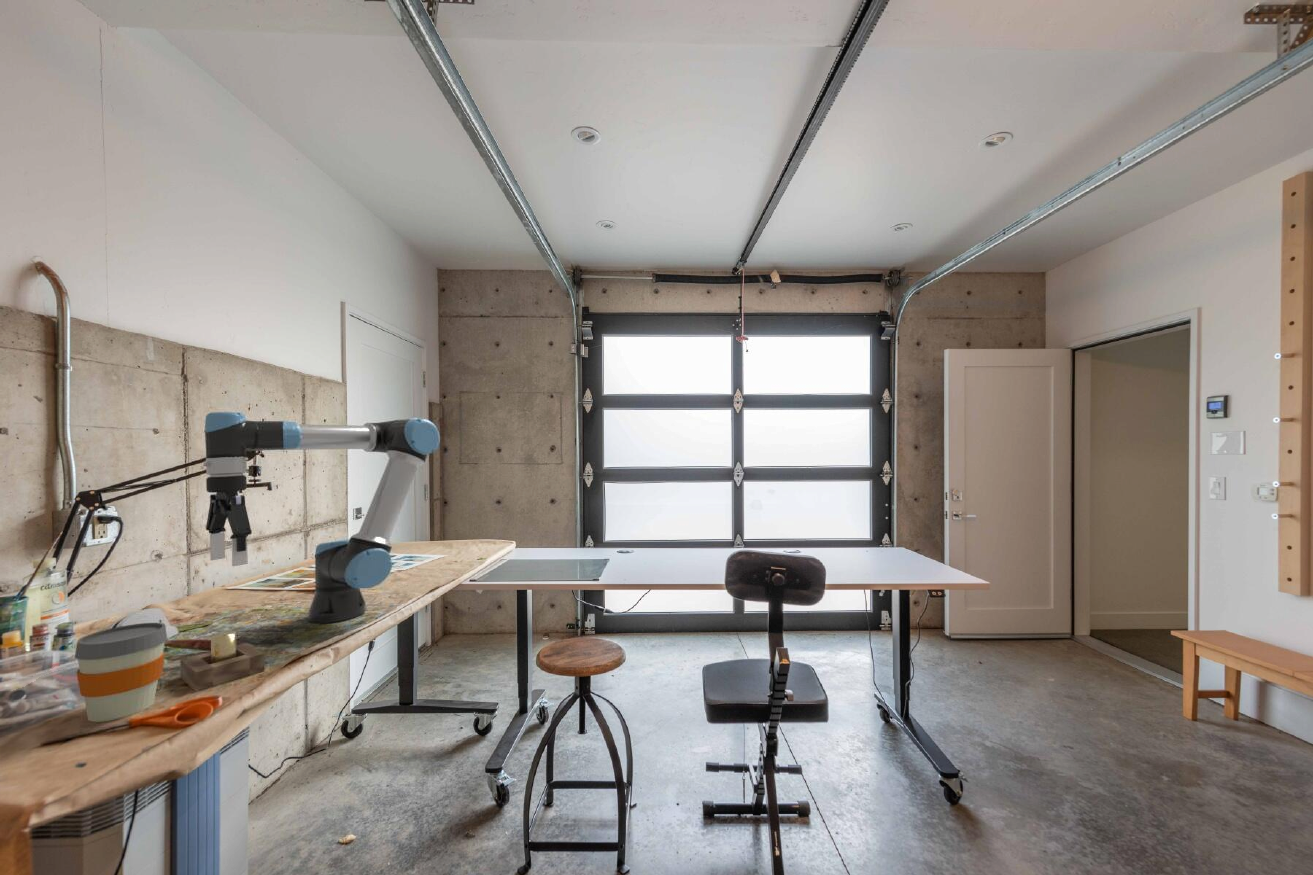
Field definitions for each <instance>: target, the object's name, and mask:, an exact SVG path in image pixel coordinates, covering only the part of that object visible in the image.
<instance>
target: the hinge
mask: <svg viewBox="0 0 1313 875" xmlns="http://www.w3.org/2000/svg"><path fill="white" fill-rule="evenodd" d="M141 623H163V624H165V626H166V634H167V638H168V639H170V638H172V637H174V636H175V635H178V634H179V629H178V628H177V626H173V625H171V623H170V622H169V620H168V618H167V617H166V615H165V614H164V611H163V610H162V608H159V607H153V608H152V607H150V608H147V609H145V608H144V609H142V610H138V611H135V612H132V613H129V614H127V615H124V616H122V617H121V618H119V619H117V620H116V621H115V622H113V623H112V624H110V626H108V628H107V629H111V628H116V627H121V626H127V625H133V624H141Z"/></svg>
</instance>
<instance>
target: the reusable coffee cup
mask: <svg viewBox="0 0 1313 875" xmlns="http://www.w3.org/2000/svg"><path fill="white" fill-rule="evenodd" d="M167 640H168V639H167V634H166V626H165V624H163V623H141V624H133V625H127V626H121V627H116V628H111V629H108V628H106V629H104V630H100V631H96V632H92V633H90V634H87V635H84V636H82V637H81V638H79V639H78V640H77V643H76V647H75V648H76V649H75V653H74V654H75V655H74V658H75V659H77V662H78V669H77V671H76V677H77V684H78V690H79V694H80V696H81V697H83V698H84V703H85V709H86V714H87V720H88V721H90V722H94V723H99V722H100V723H101V722H108V721H114V720H118V719H123V718H126V717H129V716H132V715H135V714H138V713H140V712H142V711H144V710H147V709H148V708H150V707H151V706H153V704H154V703H155V699H156V698H155V697H156V693H157V686H158V681H159V679H160V678H161V677H162V674H163V668H164V663H165V659H166V658H165V657H166V652H165V651H164V649H165V643H166V641H167Z"/></svg>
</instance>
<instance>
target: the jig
mask: <svg viewBox="0 0 1313 875" xmlns="http://www.w3.org/2000/svg"><path fill="white" fill-rule="evenodd" d="M265 656H266V655H265V653H264V652H263V651H261V650H259V649H258V648H256V647H254V646H252V645H251V644H249V643H247V642H243V643H240V644H236V657H235V658H232V659H228V660H224V661H221V662H217V663H213V664H211V651H208V652H205V653H201V654H197V655H193V656H188V657H186V658H181V659H180V663H179V664H180V665H179V667H180V668H179V671H180V673H179V674H180V675H179V678H180V679H181V680H182V681H184V683H186V684H187V685H188V686H189V687H190V688H191V689H193V691H195V692H198V691H202V690H205V689H208V688H212V687H215V686H219V685H222V684H226V683H228V682H231V681H232V682H233V681H235V680H238V679H242V678H245V677H248V676H252V675H255V674H258V673H263V672H265V666H266V665H265V658H266V657H265Z"/></svg>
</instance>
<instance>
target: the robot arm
mask: <svg viewBox="0 0 1313 875" xmlns="http://www.w3.org/2000/svg"><path fill="white" fill-rule="evenodd" d="M204 420H205V424H204V439H205V443H204V444H205V462H203V464H202V465H203V467H206V468H205V469H206V475H208V476H207V478H205V485H206V490H205V491H206V492H207V493H213V494H210V495H209V508H208V514H207V519H206V526H205V530H206V531H208V533H209V547H210V548H209V552H210V557H209V558H210V561H216V560H217V561H218V560H221V559H222V560H223V559H226V541H225V540H226V535H225V534H226V533H225V532H227V528H226V527H225V525H226V522H227V521H228V524H229V527H230V530H231V533H232V534H231V535H230V537H229V539H230V540H231V554H232V555H231V560H232V561H231V564H232V565H231V566H232V567H238V566H243V565H248V537H249V536H251V535H252V534H253V533H252V528H251V524H250V520H249V514H248V511H247V507H246V496H245V495H243V494H242V495H239V492H240V491H241V492H242V491H246V490H247V483H248V482H247V476H246V475H245V474H246V473H247V471H248V470H247V469H248V468H247V454H246V453H247V452H252V451H289V450H291V451H296V450H298V451H301V450H303V451H305V450H308V451H309V450H314V451H315V450H363V451H364V452H367V453H382V454H384V453H385V454H386V455H387V456H388V458H389V459H388V461H387V463H386V466H385V468H384V471H383V473H382V476H381V478H380V481H379V483H378V486H377V488H376V491H375V493H374V495H373V498H372V500H371V502H370V505H369V507H368V510H367V511H366V515H365V516H364V519H363V522H362V524H361V526H360V529H359V531H358V532H357V533H355V534H353V535H351V537H350V538H349V539H343V540H335V541H328V542H322V543H319V544H317V545H316V547H315V554H314V560H315V561H314V566H315V567H314V569H315V570H314V575H315V576H314V577H315V578H314V580H315V582H314V586H315V587H314V589H315V590H314V596H313V599H312V601H311V604H310V605H309V608H308V613H307V620H308V622H310V623H315V624H316V623H317V624H324V623H325V624H326V623H336V622H342V621H345V620H346V621H347V620H350V619H354V618H357V617H359V616H362V615H363V614H365V612H366V609H367V608H366V607H367V605H366V601H365V598H364V596H363V594H362V591H361V589H372V588H375V587H376V586H378V585H380V584H382V583H383V582H384V581H385V580H386V579H387V578H388V577H389V576H390V573H391V572H392V568H393V560H392V556H391V555H390V554H391V551H392V548H393V545H392V543H391V540H390V539H391V536H392V533H393V531H394V529H395V526H396V522H397V520H398V518H399V516H400V513H401V510H402V508H403V506H404V503H405V501H406V497H407V495H408V492H409V490H410V487H411V485H412V482H413V480H414V478H415V475H416V472H417V470H418V468H419V467H421V466H424V465H425V463H426V460H427V458H428V456H429V455H430V454H432V453H434V452H435V451H436V450H437V449H438V448H439V445H440V442H441V441H440V440H441V436H440V432H439V431H438V427H437V426H436V425H435V423H433V422H432V421H430V420H428V419H425V418H419V417H413V418H410V419H409V418H408V419H406V418H405V419H395V420H388V421H382V422H366V423H364V424H363V425H349V424H348V425H346V424H345V425H344V424H343V425H342V424H341V425H340V424H302V423H301V424H300V423H299V424H298V422H296V421H285V420H278V421H277V420H269V421H268V420H260V421H259V420H254V421H253V420H247V418H246V415H245V414H244V413H243V412H237V411H236V412H235V411H234V412H233V411H232V412H231V411H217V412H216V411H213V412H210V413H207V415H205V419H204Z"/></svg>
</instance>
